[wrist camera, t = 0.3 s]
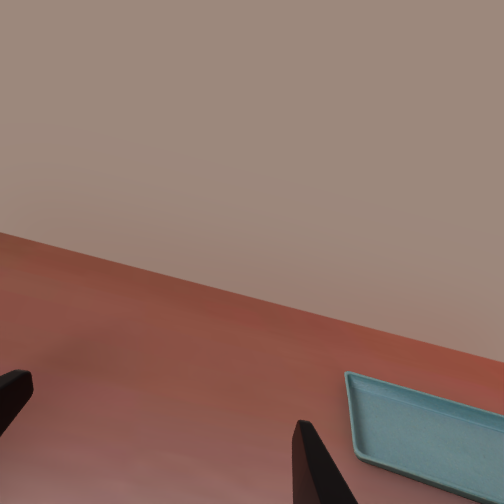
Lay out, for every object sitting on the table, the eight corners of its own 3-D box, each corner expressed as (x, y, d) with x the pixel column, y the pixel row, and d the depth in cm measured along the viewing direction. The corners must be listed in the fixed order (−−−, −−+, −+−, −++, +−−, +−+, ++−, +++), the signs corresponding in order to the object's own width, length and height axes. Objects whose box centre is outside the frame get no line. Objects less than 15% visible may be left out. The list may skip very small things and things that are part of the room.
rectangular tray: (348, 468, 21) (356, 451, 20) (339, 381, 30) (345, 366, 29) (737, 609, 17) (772, 597, 16) (597, 459, 25) (615, 445, 24)
